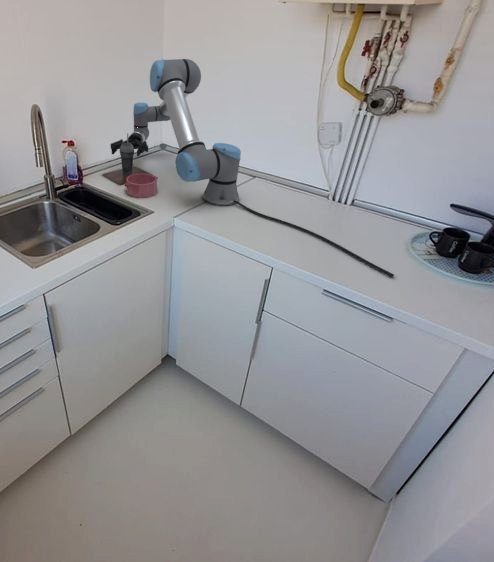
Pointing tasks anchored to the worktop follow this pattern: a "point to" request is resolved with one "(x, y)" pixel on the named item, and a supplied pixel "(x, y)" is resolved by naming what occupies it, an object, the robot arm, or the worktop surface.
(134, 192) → the pot
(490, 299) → the worktop surface
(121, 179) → the board
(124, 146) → the beverage cup
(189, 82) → the robot arm
